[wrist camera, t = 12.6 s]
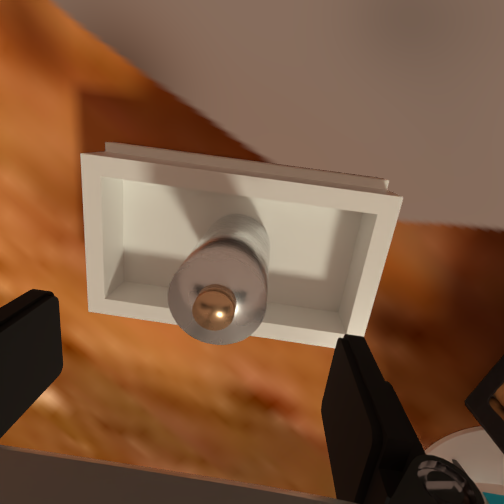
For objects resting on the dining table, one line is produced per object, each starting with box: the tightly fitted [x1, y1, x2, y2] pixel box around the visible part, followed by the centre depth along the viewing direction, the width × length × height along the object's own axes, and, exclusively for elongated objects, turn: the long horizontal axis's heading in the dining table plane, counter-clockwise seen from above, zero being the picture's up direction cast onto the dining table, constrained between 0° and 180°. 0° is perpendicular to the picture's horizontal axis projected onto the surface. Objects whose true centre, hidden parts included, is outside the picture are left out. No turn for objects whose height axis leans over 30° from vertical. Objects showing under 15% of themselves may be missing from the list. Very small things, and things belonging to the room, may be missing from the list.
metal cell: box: [168, 214, 270, 345], centre depth 16 cm, size 4×4×8 cm
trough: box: [80, 142, 403, 348], centre depth 19 cm, size 10×16×4 cm, turn 83°
